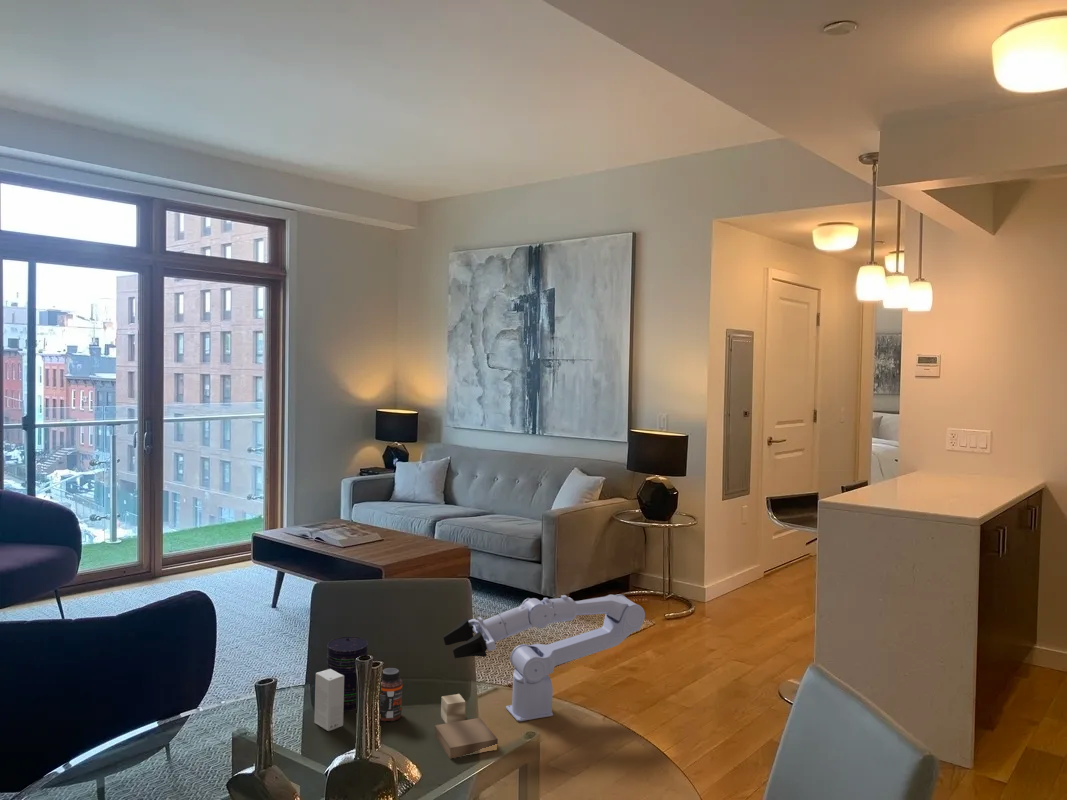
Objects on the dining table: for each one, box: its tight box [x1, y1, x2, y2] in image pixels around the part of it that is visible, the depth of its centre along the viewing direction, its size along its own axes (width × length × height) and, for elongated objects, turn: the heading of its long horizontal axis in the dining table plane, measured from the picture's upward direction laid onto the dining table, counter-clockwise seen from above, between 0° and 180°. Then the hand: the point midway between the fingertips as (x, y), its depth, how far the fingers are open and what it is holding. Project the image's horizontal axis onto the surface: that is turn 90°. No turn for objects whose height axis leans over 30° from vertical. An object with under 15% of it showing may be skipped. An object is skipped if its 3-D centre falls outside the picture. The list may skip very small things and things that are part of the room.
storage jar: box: [326, 636, 369, 713], centre depth 195 cm, size 10×10×15 cm
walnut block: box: [434, 717, 499, 760], centre depth 178 cm, size 11×11×3 cm
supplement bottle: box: [380, 667, 404, 722], centre depth 189 cm, size 6×6×11 cm
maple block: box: [440, 693, 466, 724], centre depth 190 cm, size 4×4×5 cm
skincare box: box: [313, 668, 344, 732], centre depth 184 cm, size 6×4×12 cm
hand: (448, 647), depth 185 cm, fingers open, 7 cm apart
